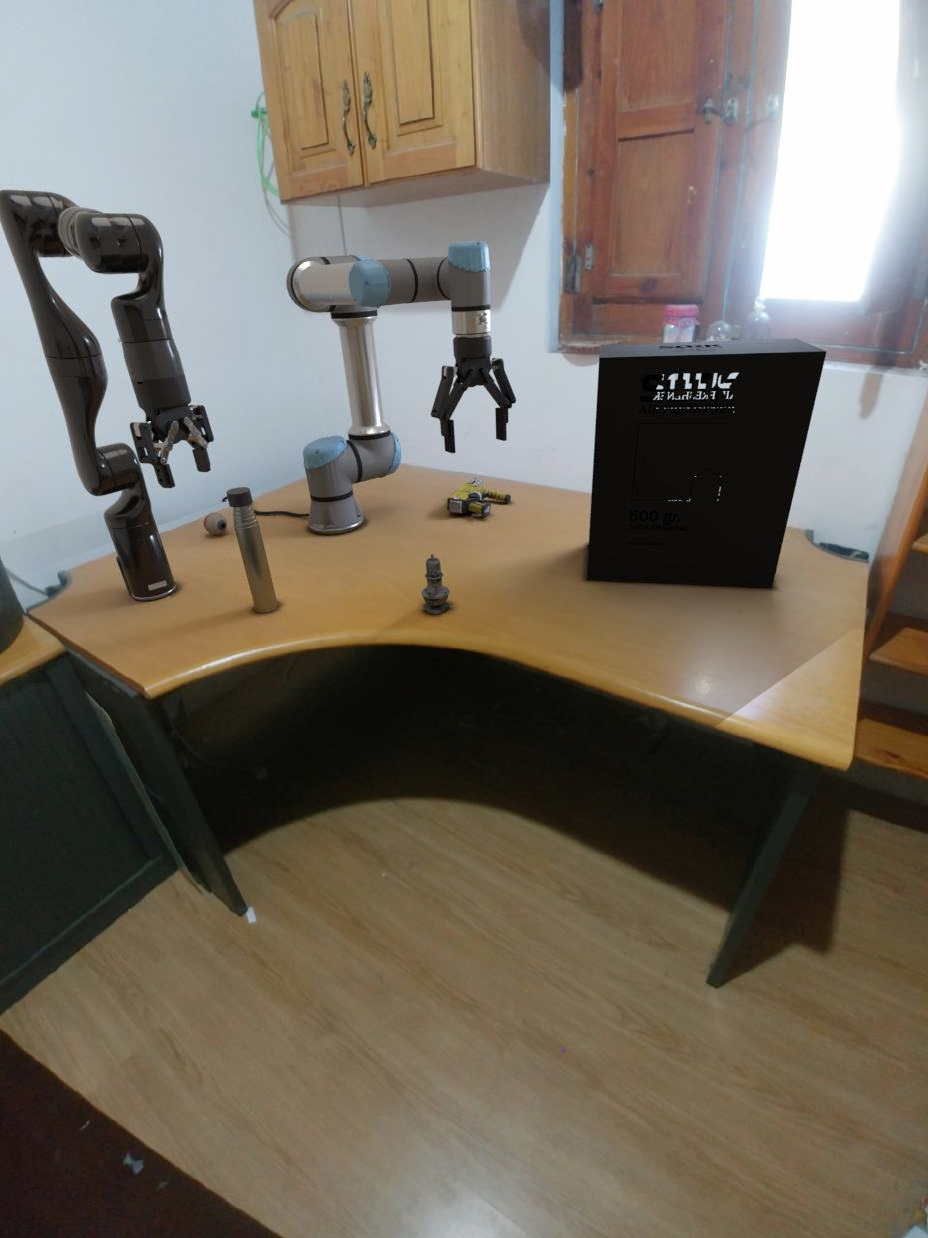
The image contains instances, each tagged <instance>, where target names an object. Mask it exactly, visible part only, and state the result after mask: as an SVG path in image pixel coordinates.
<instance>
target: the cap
mask: <svg viewBox="0 0 928 1238" xmlns="http://www.w3.org/2000/svg"><path fill="white" fill-rule="evenodd" d="M225 493H226V497H227V498H228V499H227V502H228V505H229V507H230V508H233V507H234V508H238V507H245V506H248V505H250V506H251V505H252V504H253V503H254V501H253V496H252V493H251V489H250V488H249V487H247V486H239V487H233V488H230V489H228V490H227V491H226V492H225ZM234 508H233V509H234Z"/></svg>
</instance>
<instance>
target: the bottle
mask: <svg viewBox="0 0 928 1238" xmlns="http://www.w3.org/2000/svg"><path fill="white" fill-rule="evenodd" d="M232 508H233V509H232V515H233V517H232V519H233V528H234V532H235V537H236V540H237V544H238V548H239V551H240V556H241V560H242V563H243V566H244V567H243V568H244V571H245V575H246V579H247V583H248V586H249V590H250V594H251V599H252V602H253V606H254V609H255V611H256V612H257V613H261V614H264V613H266V614H267V613H270V612H273V611H274V610H276V609H278V607H279V604H278V600H277V599H278V598H277V595H276V591H275V586H274V582H273V578H272V574H271V570H270V565H269V561H268V556H267V553H266V548H265V543H264V539H263V536H262V531H261V527H260V526H261V525H260V522H259V520H258V517H257V514H256V513H254V510H255V509H253V506H252V505H251V504H250V505H248V506H245V507H238V508H234V507H232Z"/></svg>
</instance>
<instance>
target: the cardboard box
mask: <svg viewBox="0 0 928 1238" xmlns="http://www.w3.org/2000/svg"><path fill="white" fill-rule="evenodd" d="M827 352H828V351H827V350H824V349H822V348H820V347H818V346H815V345H813V344H811V343H808V342H806V341H802V340H801V339H799V338H768V339H766V338H765V339H737V340H736V339H735V340H709V341H708V340H707V341H705V340H703V341H675V342H672V341H671V342H648V343H647V342H646V343H645V342H644V343H643V342H642V343H616V344H615V343H614V344H612V343H611V344H600V348H599V355H598V356H599V358H598V370H597V371H598V372H597V390H596V391H597V392H596V409H595V410H596V411H595V426H594V445H593V459H592V460H593V461H592V462H593V463H592V479H591V497H590V515H589V532H588V533H589V535H588V547H587V548H588V549H587V568H586V580H588V581H611V582H635V583H655V584H657V583H658V584H675V585H676V584H679V585H698V586H699V585H703V586H725V587H743V588H744V587H745V588H746V587H747V588H768V589H773V586H774V582H775V578H776V573H777V569H778V565H779V560H780V555H781V550H782V548H783V543H784V540H785V539H784V538H785V534H786V530H787V525H788V521H789V517H790V513H791V512H790V511H791V509H792V504H793V499H794V496H795V490H796V486H797V483H798V477H799V474H800V469H801V465H802V461H803V456H804V451H805V447H806V444H807V443H806V442H807V439H808V434H809V429H810V425H811V421H812V416H813V412H814V408H815V404H816V400H817V395H818V391H819V387H820V382H821V378H822V373H823V368H824V365H825V360H826V356H827ZM685 374H689V378H688V385H690V388H686V384H687V379H685V378H684V375H685ZM699 374H700V379H699V378H697V375H699ZM715 374H716V380H715V384H714V386H713V383H714V378H715ZM731 374H736V376H735V378H729V377H730V376H731ZM672 375H677V378H676V379H675V380H674V384H673V385H674V387H673V388H671V385H672V379H671V378H670V377H671V376H672ZM719 379H720V381H719ZM700 384H701V385H705V387H704V388H699V385H700ZM719 384H720V385H724V384H729V387H720V386H719ZM659 386H661V387H662V388H658V387H659Z"/></svg>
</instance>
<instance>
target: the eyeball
mask: <svg viewBox="0 0 928 1238" xmlns="http://www.w3.org/2000/svg"><path fill="white" fill-rule="evenodd" d="M203 526H204V529H205V530H206V531H207V532H208V533H209V534H211V535H215V536H217V535H221V534H223V533H225V532H226V530H227V528H228V522H227V518H226V517H225V516H224V515H223V514H222V513H219V512H211V513H208V514H207V515H206V516H205V517H204V519H203Z"/></svg>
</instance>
